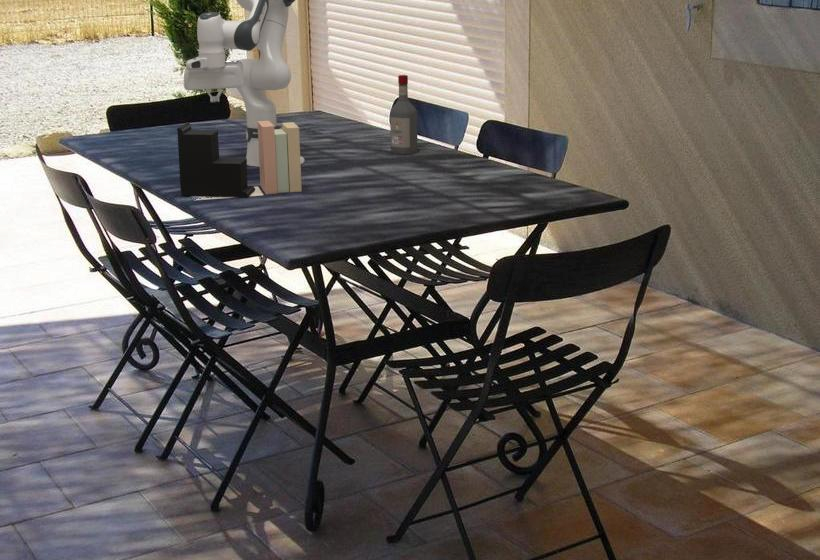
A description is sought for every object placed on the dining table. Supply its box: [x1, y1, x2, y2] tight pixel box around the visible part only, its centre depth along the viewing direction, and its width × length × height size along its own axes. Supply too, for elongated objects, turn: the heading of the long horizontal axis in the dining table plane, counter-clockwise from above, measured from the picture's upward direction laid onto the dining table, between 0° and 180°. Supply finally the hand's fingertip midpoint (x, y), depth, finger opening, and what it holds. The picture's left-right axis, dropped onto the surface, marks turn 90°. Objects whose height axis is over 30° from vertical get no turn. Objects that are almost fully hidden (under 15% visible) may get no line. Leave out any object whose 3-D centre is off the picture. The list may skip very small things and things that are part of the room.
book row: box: [257, 121, 303, 195], centre depth 416 cm, size 12×12×23 cm
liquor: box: [389, 74, 419, 156], centre depth 474 cm, size 9×9×30 cm
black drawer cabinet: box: [176, 121, 255, 198], centre depth 411 cm, size 23×11×24 cm, turn 83°
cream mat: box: [195, 186, 264, 201], centre depth 414 cm, size 24×14×1 cm, turn 105°
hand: (215, 101), depth 419 cm, fingers closed
